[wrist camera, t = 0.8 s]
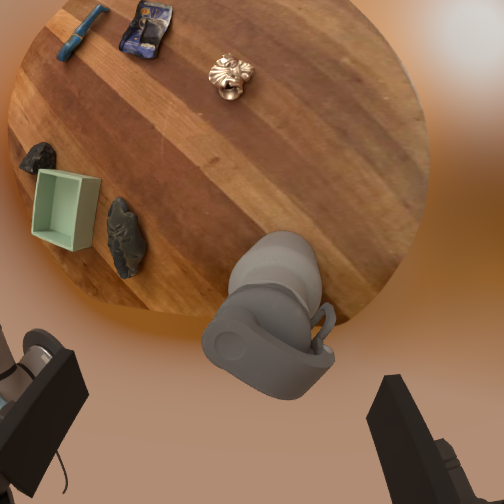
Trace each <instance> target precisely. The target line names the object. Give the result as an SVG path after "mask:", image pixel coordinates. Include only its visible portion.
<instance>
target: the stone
mask: <svg viewBox="0 0 504 504" xmlns="http://www.w3.org/2000/svg"><path fill="white" fill-rule="evenodd" d="M108 216H109V218H108V220H107V227H108V228H107V232H108V247H109V249H110V252H111V254H112V256H113V260H114V264H115V267H116V269H117V272H118V274H119V275H120V277H121V278H123V279H126V278H131V277H133V276H135V274H136V273H137V271H138V265H139V262H140V261H141V259H142V258H143V257H144V255H145V251H146V245H147V244H146V242H145V241H144V240H143V238H142V236H141V233H140V231H139V228H138V218H137V216H136V215H135V214H133V213H131V212H129V209H128V207H127V204H126V202H125V201H124V200H123V199H122V198H119V197H117V198H116V199H115V200H114V201H113V203H112V205H111V207H110V209H109V212H108Z"/></svg>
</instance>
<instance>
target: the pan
mask: <svg viewBox="0 0 504 504" xmlns="http://www.w3.org/2000/svg"><path fill="white" fill-rule="evenodd" d="M100 184H101V179H100V178H95V177H90V176H86V175H81V174H76V173H71V172H66V171H61V170H51V169H39V171H38V177H37V184H36V191H35V198H34V207H33V217H32V230H31V234H32V235H35V236H37V237H39V238H41V239H44V240H46V241H48V242H51V243H53V244H55V245H58V246H60V247H62V248H65V249H67V250H70V251H72V252H73V251H77V250H81V249H84V248H88V247H91V245H92V236H93V228H94V221H95V214H96V208H97V201H98V195H99V190H100Z"/></svg>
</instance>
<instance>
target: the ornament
mask: <svg viewBox="0 0 504 504" xmlns="http://www.w3.org/2000/svg"><path fill="white" fill-rule="evenodd" d="M235 58H236V57H235V56H234V55H232V54H231V53H229V54H225V55H224V56H223V58H222V59H220V60H217V61H216V62H215V63H214V64H213V66H214V67H213V68H212V69H211V71H210V73H209V80H210V82H211V83H212V84H213V85H214V86H215V87H216V88H218V92H219V94H220V96H221V97H222V98H223V99H225V100H235V99H238V98H239V97H240V95H241V94H242V92H243V87H242V86H243V82H247V81H249V79H250V76H251V75H252V74H253V73H254V67H253V66H252V65H250V64H248V63H246V62H245V61H242V60H240V61H239V62H238V63H237V60H236V59H235ZM229 82H230V83H229ZM228 83H229V85H230V86H235V87H234V88H232V89H230V90H226V89H224V88H225V87H226V85H227V84H228Z"/></svg>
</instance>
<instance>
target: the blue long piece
mask: <svg viewBox="0 0 504 504" xmlns="http://www.w3.org/2000/svg"><path fill="white" fill-rule="evenodd" d="M108 11H109V9H108V8H106V7H104V6H103V5H101V4H99V5H97V6H96V7H95V8H94V9H93V10H92V11H91V13H90V14H89V15H88V16H87V17H86V19H85V20H84V21H83V22H82V23H81V24H80V25H79V26H78V27H77V28H76V29H75V31H74V32H73V34H72V35H71V37H70V38H69V40H68V41H67V42H65V43H64V45H63V46H62V48H61V49H60V51H59V52H58V54H57V59H58V60H59V61H63V62H65V61H66V60H67V59H68V58H69V57H70V56H71V51H72V50H74V49H75V48H76V46H78V45H79V44H80V42H81V40H82V39H83V37H84V36H85V34H86V32H87V31H88V29H89V27H90V25H91V24H92V22H93V21H94V20H95V19H96V18H97V17H98V16H99V14H100V13H102V12H108Z"/></svg>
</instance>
